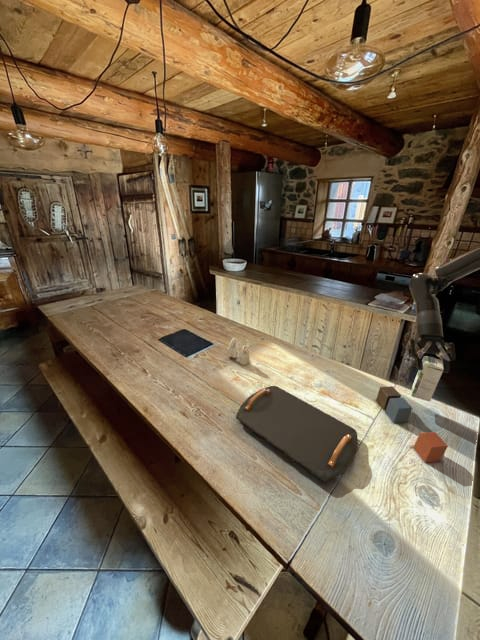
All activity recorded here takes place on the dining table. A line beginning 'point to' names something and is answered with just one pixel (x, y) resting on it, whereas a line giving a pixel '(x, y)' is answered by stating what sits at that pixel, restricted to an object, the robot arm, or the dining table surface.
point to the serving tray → (300, 431)
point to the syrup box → (427, 378)
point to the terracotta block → (430, 447)
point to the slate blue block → (398, 410)
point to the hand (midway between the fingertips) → (433, 371)
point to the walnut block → (386, 396)
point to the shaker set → (233, 352)
